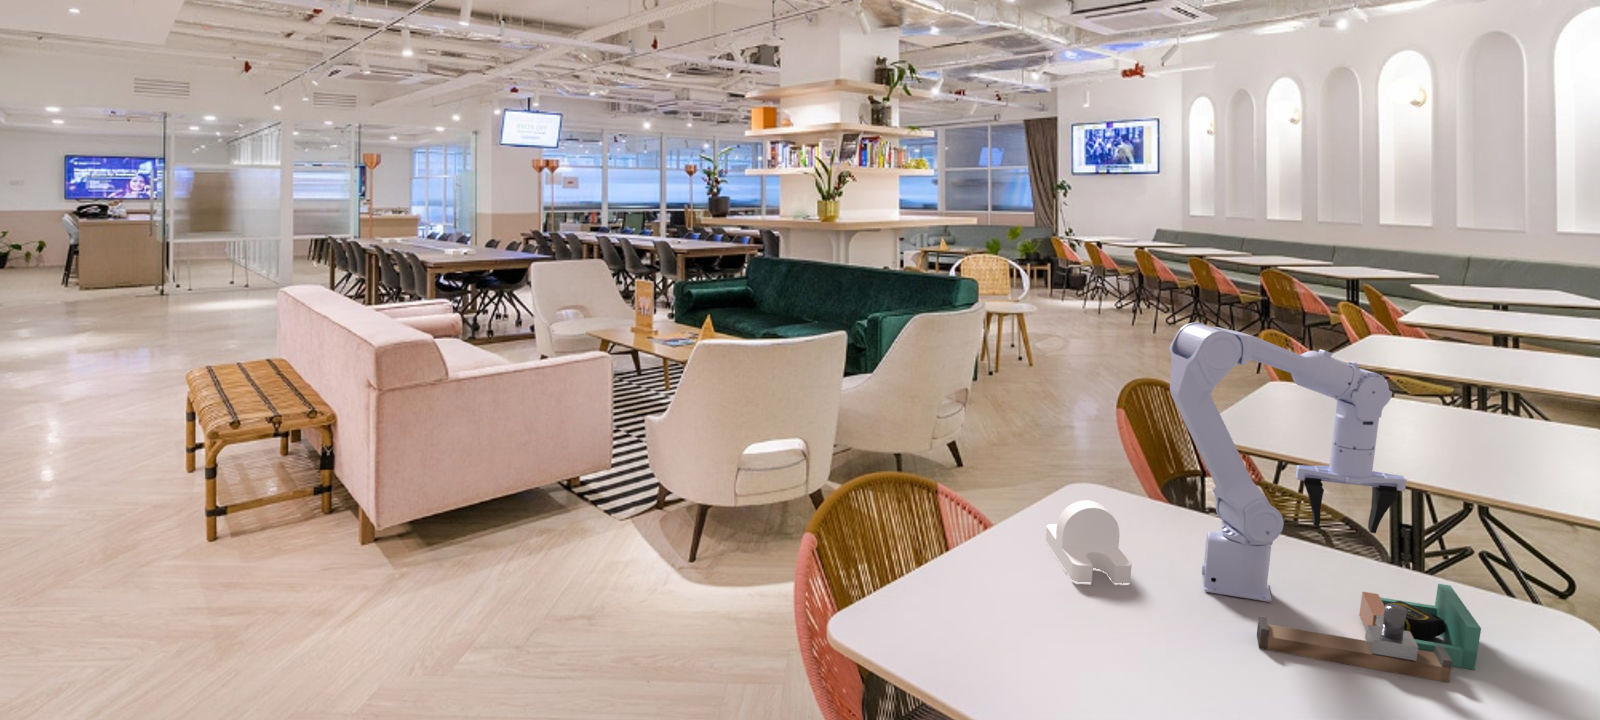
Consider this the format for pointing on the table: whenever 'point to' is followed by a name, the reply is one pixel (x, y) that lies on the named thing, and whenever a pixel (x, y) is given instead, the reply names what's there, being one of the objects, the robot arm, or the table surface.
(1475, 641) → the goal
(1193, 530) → the table surface
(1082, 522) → the white slotted holder
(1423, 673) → the rail
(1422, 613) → the tape measure
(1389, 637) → the rod slider
